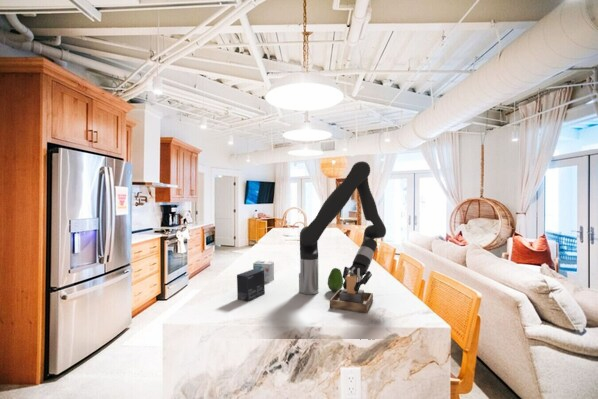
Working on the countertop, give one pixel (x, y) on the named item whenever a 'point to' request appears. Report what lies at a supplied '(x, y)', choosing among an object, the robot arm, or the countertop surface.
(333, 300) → the walled tray
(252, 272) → the small box
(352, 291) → the plug
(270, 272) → the light bulb box
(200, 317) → the countertop surface
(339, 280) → the avocado
